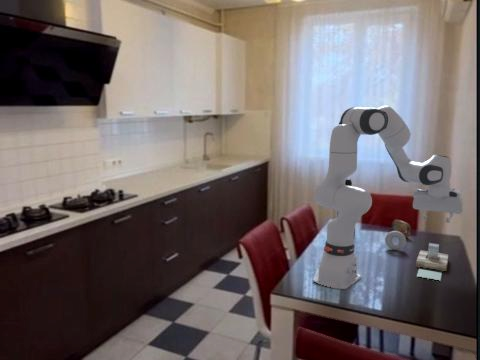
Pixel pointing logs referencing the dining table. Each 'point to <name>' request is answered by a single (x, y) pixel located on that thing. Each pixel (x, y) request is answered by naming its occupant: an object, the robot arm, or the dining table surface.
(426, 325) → the dining table surface
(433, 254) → the aluminium block
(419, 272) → the green pad
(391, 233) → the donut
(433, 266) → the frame
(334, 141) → the robot arm
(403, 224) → the tin
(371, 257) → the dining table surface
